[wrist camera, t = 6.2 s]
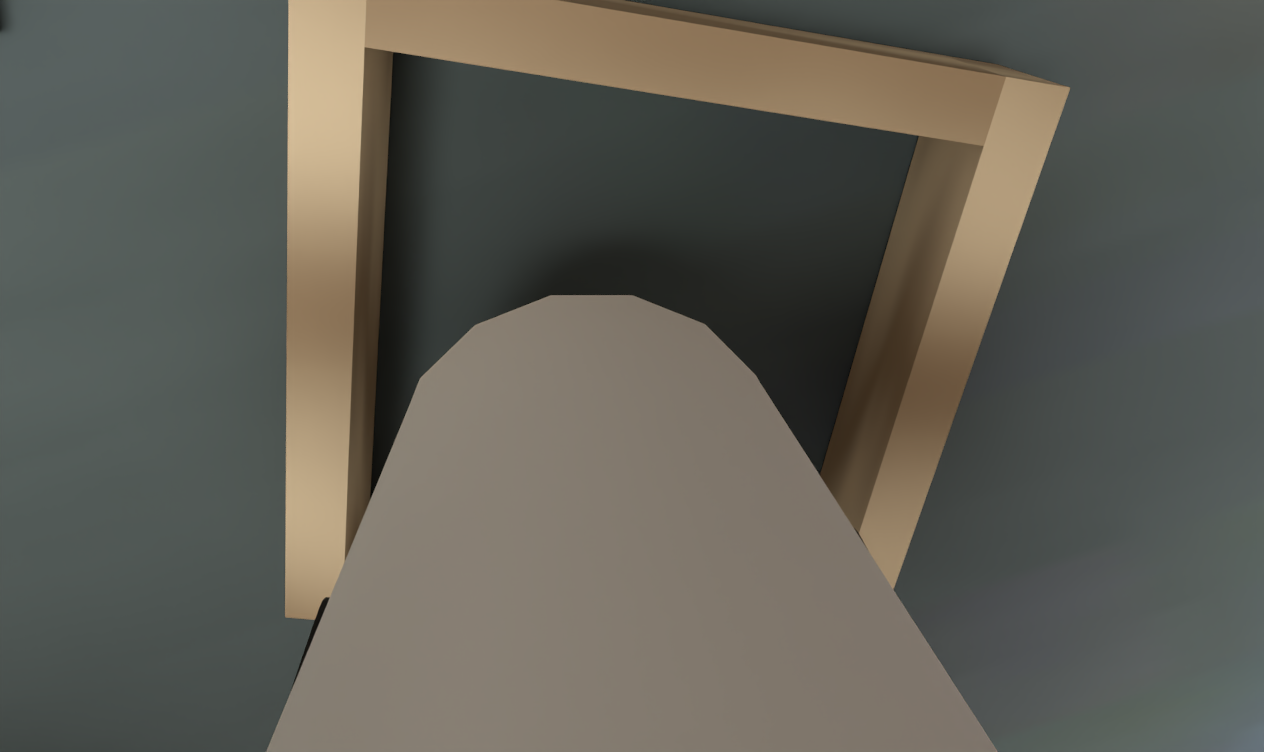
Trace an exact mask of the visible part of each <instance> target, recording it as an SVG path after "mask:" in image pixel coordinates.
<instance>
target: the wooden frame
mask: <svg viewBox="0 0 1264 752" xmlns="http://www.w3.org/2000/svg"><path fill="white" fill-rule="evenodd" d="M393 52H398V53H404V54H410V55H417V56H423V57H429V58H435V59H442V60H448V61H454V62H461V63H467V64H473V65H479V66H486V67H492V68H498V69H504V70H511V71H517V72H523V73H529V74H536V75H542V76H548V77H554V78H561V79H567V80H573V81H580V82H586V83H592V84H598V85H605V86H611V87H617V88H623V89H630V90H636V91H642V92H648V93H655V94H661V95H667V96H673V97H680V98H686V99H692V100H699V101H705V102H711V103H717V104H724V105H730V106H736V107H742V108H749V109H755V110H761V111H767V112H774V113H780V114H786V115H793V116H799V117H805V118H811V119H818V120H824V121H830V122H836V123H843V124H849V125H855V126H861V127H868V128H874V129H880V130H886V131H893V132H899V133H905V134H912V135H918V136H919V137H918V141H917V144H916V148H915V151H914V154H913V158H912V161H911V165H910V168H909V172H908V175H907V178H906V182H905V185H904V189H903V192H902V196H901V199H900V202H899V206H898V209H897V213H896V216H895V220H894V223H893V226H892V230H891V233H890V237H889V240H888V244H887V247H886V250H885V254H884V257H883V261H882V264H881V268H880V271H879V274H878V278H877V281H876V285H875V288H874V292H873V295H872V298H871V302H870V305H869V309H868V312H867V316H866V319H865V322H864V326H863V329H862V333H861V336H860V340H859V343H858V346H857V350H856V353H855V357H854V360H853V364H852V367H851V370H850V374H849V377H848V381H847V384H846V388H845V391H844V395H843V398H842V401H841V405H840V408H839V412H838V415H837V419H836V422H835V425H834V429H833V432H832V436H831V439H830V443H829V446H828V449H827V453H826V456H825V460H824V463H823V467H822V470H821V473H820V477H821V478H822V480H823V481H824V483H825V484H826V486H827V487H828V489H829V490H830V492H831V494H832V495H833V497H834V498H835V500H836V501H837V503H838V504H839V506H840V508H841V509H842V511H843V512H844V514H845V515H846V517H847V518H848V520H849V522H850V523H851V525H852V526H853V528H855V529H856V530H857V532H858V533H859V534H860V536H861V538H862V540H863V542H864V544H865V545H866V547H867V549H868V551H869V553H870V554H871V556H872V557H873V559H874V560H875V562H876V563H877V565H878V567H879V568H880V570H881V571H882V573H883V574H884V576H885V577H886V579H887V581H888V582H889V584H890V585H891V587H892V588H893V590H894V587H895V584H896V581H897V578H898V575H899V573H900V570H901V567H902V564H903V561H904V558H905V556H906V553H907V550H908V547H909V544H910V541H911V538H912V536H913V533H914V530H915V527H916V524H917V521H918V519H919V516H920V513H921V510H922V507H923V504H924V502H925V499H926V496H927V493H928V490H929V487H930V485H931V482H932V479H933V476H934V473H935V470H936V468H937V465H938V462H939V459H940V456H941V453H942V451H943V448H944V445H945V442H946V439H947V436H948V433H949V431H950V428H951V425H952V422H953V419H954V416H955V414H956V411H957V408H958V405H959V402H960V399H961V397H962V394H963V391H964V388H965V385H966V382H967V380H968V377H969V374H970V371H971V368H972V365H973V363H974V360H975V357H976V354H977V351H978V348H979V346H980V343H981V340H982V337H983V334H984V331H985V328H986V326H987V323H988V320H989V317H990V314H991V311H992V309H993V306H994V303H995V300H996V297H997V294H998V292H999V289H1000V286H1001V283H1002V280H1003V277H1004V275H1005V272H1006V269H1007V266H1008V263H1009V260H1010V258H1011V255H1012V252H1013V249H1014V246H1015V243H1016V241H1017V238H1018V235H1019V232H1020V229H1021V226H1022V224H1023V221H1024V218H1025V215H1026V212H1027V209H1028V206H1029V204H1030V201H1031V198H1032V195H1033V192H1034V189H1035V187H1036V184H1037V181H1038V178H1039V175H1040V172H1041V170H1042V167H1043V164H1044V161H1045V158H1046V155H1047V153H1048V150H1049V147H1050V144H1051V141H1052V138H1053V136H1054V133H1055V130H1056V127H1057V124H1058V121H1059V119H1060V116H1061V113H1062V110H1063V107H1064V104H1065V101H1066V99H1067V96H1068V93H1069V90H1070V88H1069V87H1066V86H1063V85H1060V84H1057V83H1054V82H1051V81H1048V80H1044V79H1041V78H1038V77H1035V76H1032V75H1029V74H1026V73H1023V72H1019V71H1016V70H1013V69H1010V68H1007V67H1004V66H1001V65H997V64H991V63H986V62H980V61H974V60H968V59H962V58H957V57H951V56H945V55H939V54H933V53H927V52H922V51H916V50H910V49H904V48H898V47H893V46H887V45H881V44H875V43H869V42H864V41H858V40H852V39H846V38H840V37H835V36H829V35H823V34H817V33H811V32H806V31H800V30H794V29H788V28H782V27H777V26H771V25H765V24H759V23H753V22H748V21H742V20H736V19H730V18H724V17H718V16H713V15H707V14H701V13H695V12H689V11H684V10H678V9H672V8H666V7H660V6H655V5H649V4H643V3H637V2H631V1H626V0H289V36H288V208H287V381H286V553H285V617H287V618H299V619H311V620H315V618H316V616H317V613H318V610H319V607H320V605H321V603H322V600H323V599H324V598H325V597H330V596H331V594H332V591H333V589H334V586H335V584H336V582H337V579H338V577H339V574H340V572H341V569H342V567H343V565H344V562H345V560H346V557H347V555H348V553H349V550H350V548H351V545H352V543H353V540H354V538H355V536H356V533H357V531H358V528H359V526H360V524H361V521H362V519H363V516H364V514H365V511H366V509H367V507H368V504H369V502H370V493H371V474H372V454H373V435H374V415H375V396H376V377H377V357H378V338H379V318H380V299H381V280H382V260H383V241H384V221H385V202H386V183H387V163H388V144H389V124H390V105H391V85H392V66H393Z"/></svg>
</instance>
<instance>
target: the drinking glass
mask: <svg viewBox="0 0 1264 752" xmlns="http://www.w3.org/2000/svg"><path fill="white" fill-rule="evenodd" d="M266 752H998V751H997V750H996V748H995V747H994V745H993V744H992V742H991V741H990V739H989V737H988V736H987V734H986V733H985V731H984V730H983V728H982V727H981V725H980V723H979V722H978V720H977V719H976V717H975V716H974V714H973V713H972V711H971V709H970V708H969V706H968V705H967V703H966V702H965V700H964V699H963V697H962V696H961V694H960V692H959V691H958V689H957V688H956V686H955V685H954V683H953V682H952V680H951V678H950V677H949V675H948V674H947V672H946V671H945V669H944V668H943V666H942V664H941V663H940V661H939V660H938V658H937V657H936V655H935V654H934V652H933V650H932V649H931V647H930V646H929V644H928V643H927V641H926V640H925V638H924V636H923V635H922V633H921V632H920V630H919V629H918V627H917V626H916V624H915V623H914V621H913V619H912V618H911V616H910V615H909V613H908V612H907V610H906V609H905V607H904V605H903V604H902V602H901V601H900V599H899V598H898V596H897V595H896V593H895V591H894V590H893V588H892V587H891V585H890V584H889V582H888V581H887V579H886V577H885V576H884V574H883V573H882V571H881V570H880V568H879V567H878V565H877V563H876V562H875V560H874V559H873V557H872V556H871V554H870V553H869V551H868V550H867V548H866V546H865V545H864V543H863V542H862V540H861V539H860V537H859V536H858V534H857V532H856V531H855V529H854V528H853V526H852V525H851V523H850V522H849V520H848V518H847V517H846V515H845V514H844V512H843V511H842V509H841V508H840V506H839V504H838V503H837V501H836V500H835V498H834V497H833V495H832V494H831V492H830V490H829V489H828V487H827V486H826V484H825V483H824V481H823V480H822V478H821V477H820V475H819V473H818V472H817V470H816V469H815V467H814V466H813V464H812V463H811V461H810V459H809V458H808V456H807V455H806V453H805V452H804V450H803V449H802V447H801V445H800V444H799V442H798V441H797V439H796V438H795V436H794V435H793V433H792V431H791V430H790V428H789V427H788V425H787V424H786V422H785V421H784V419H783V417H782V416H781V414H780V413H779V411H778V410H777V408H776V407H775V405H774V403H773V402H772V400H771V399H770V397H769V396H768V394H767V393H766V391H765V390H764V388H763V386H762V385H761V383H760V382H759V380H758V378H757V376H756V375H755V374H754V373H753V372H752V371H751V370H750V369H749V368H748V367H747V366H746V365H745V364H744V363H743V362H742V361H741V360H740V359H739V358H738V357H737V356H736V355H735V354H734V353H733V352H732V351H731V350H730V349H729V348H728V347H727V346H726V345H725V344H724V343H723V342H722V341H721V340H720V339H719V338H718V337H717V336H716V335H715V334H714V333H713V332H712V331H711V330H710V329H709V328H708V327H707V326H706V325H705V324H703V323H701V322H698V321H696V320H693V319H691V318H688V317H686V316H683V315H681V314H678V313H676V312H673V311H671V310H668V309H666V308H663V307H661V306H658V305H656V304H653V303H651V302H648V301H646V300H643V299H641V298H638V297H636V296H633V295H550V296H548V297H545V298H543V299H540V300H537V301H535V302H532V303H530V304H527V305H525V306H522V307H520V308H517V309H515V310H512V311H509V312H507V313H504V314H502V315H499V316H497V317H494V318H492V319H489V320H487V321H484V322H481V323H479V324H476V325H475V326H474V327H472V328H471V329H470V330H469V331H468V332H467V333H466V334H465V335H464V336H463V337H462V338H461V339H460V340H459V341H458V342H457V343H456V344H455V345H454V346H453V347H452V348H451V349H450V350H449V351H448V352H447V353H446V354H445V355H444V356H442V357H441V358H440V359H439V360H438V361H437V362H436V363H435V364H434V365H433V366H432V367H431V368H430V369H429V370H428V371H427V372H426V373H425V374H424V375H423V376H422V377H421V378H420V379H419V382H418V385H417V387H416V390H415V392H414V395H413V397H412V400H411V402H410V405H409V407H408V410H407V412H406V415H405V417H404V419H403V422H402V424H401V427H400V429H399V432H398V434H397V436H396V439H395V441H394V444H393V446H392V449H391V451H390V453H389V456H388V458H387V461H386V463H385V465H384V468H383V470H382V473H381V475H380V478H379V480H378V482H377V485H376V487H375V490H374V492H373V494H372V497H371V499H370V502H369V504H368V507H367V509H366V511H365V514H364V516H363V519H362V521H361V524H360V526H359V528H358V531H357V533H356V536H355V538H354V540H353V543H352V545H351V548H350V550H349V553H348V555H347V557H346V560H345V562H344V565H343V567H342V569H341V572H340V574H339V577H338V579H337V582H336V584H335V586H334V589H333V591H332V594H331V596H330V599H329V601H328V603H327V606H326V608H325V611H324V613H323V615H322V618H321V620H320V623H319V625H318V628H317V630H316V632H315V635H314V637H313V640H312V642H311V644H310V647H309V649H308V652H307V654H306V657H305V659H304V661H303V664H302V666H301V669H300V671H299V674H298V676H297V678H296V681H295V683H294V686H293V688H292V690H291V693H290V695H289V698H288V700H287V703H286V705H285V707H284V710H283V712H282V715H281V717H280V719H279V722H278V724H277V727H276V729H275V732H274V734H273V736H272V739H271V741H270V744H269V746H268V749H267V751H266Z"/></svg>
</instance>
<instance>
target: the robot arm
mask: <svg viewBox="0 0 1264 752" xmlns="http://www.w3.org/2000/svg"><path fill="white" fill-rule="evenodd" d="M854 529H855V528H854ZM855 531H856V532H857V530H856V529H855ZM857 534H858V536H859V537H860V539H861V540H862V538H861V536H860V534H859V533H858V532H857ZM862 542H863V540H862ZM863 543H864V542H863ZM864 545H865V544H864ZM865 546H866V545H865ZM866 548H867V547H866ZM867 550H868V549H867ZM329 599H330V597H325V598H324V599H323V600H322V603H321V605H320V607H319V610H318V613H317V616H316V618H315V621H314V624H313V627H312V630H311V633H310V636H309V639H308V642H307V645H306V648H305V651H304V654H303V657H302V660H301V663H300V666H299V669H298V672H297V675H296V677H295V680H294V683H295V681H296V678H297V676H298V674H299V671H300V669H301V666H302V664H303V661H304V659H305V657H306V654H307V652H308V649H309V647H310V644H311V642H312V640H313V637H314V635H315V632H316V630H317V628H318V625H319V623H320V620H321V618H322V615H323V613H324V611H325V608H326V606H327V603H328V601H329ZM294 683H293V686H294ZM293 686H292V688H293ZM291 690H292V689H291ZM290 693H291V692H290Z"/></svg>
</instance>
